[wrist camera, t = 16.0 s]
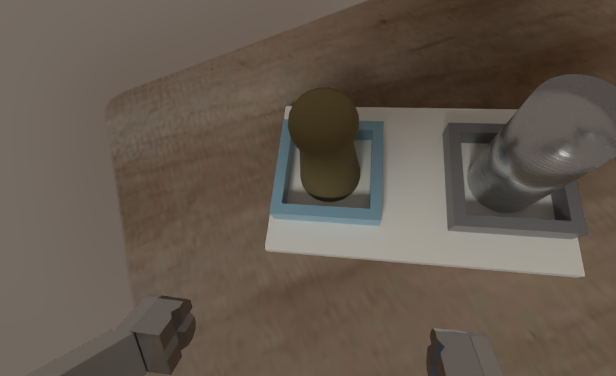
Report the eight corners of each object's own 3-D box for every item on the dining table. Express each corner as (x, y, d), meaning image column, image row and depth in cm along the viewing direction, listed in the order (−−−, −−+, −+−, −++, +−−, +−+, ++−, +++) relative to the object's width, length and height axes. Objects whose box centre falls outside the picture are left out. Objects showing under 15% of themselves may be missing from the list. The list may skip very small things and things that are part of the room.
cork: (297, 151, 33) (274, 81, 23) (355, 142, 33) (358, 66, 22) (303, 206, 31) (281, 155, 21) (365, 197, 30) (374, 141, 20)
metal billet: (532, 154, 30) (627, 74, 20) (541, 215, 28) (654, 160, 18) (464, 152, 31) (522, 74, 21) (469, 210, 29) (536, 156, 18)
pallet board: (546, 115, 32) (565, 97, 29) (576, 277, 27) (603, 273, 24) (287, 111, 36) (282, 94, 33) (267, 251, 31) (259, 245, 28)
